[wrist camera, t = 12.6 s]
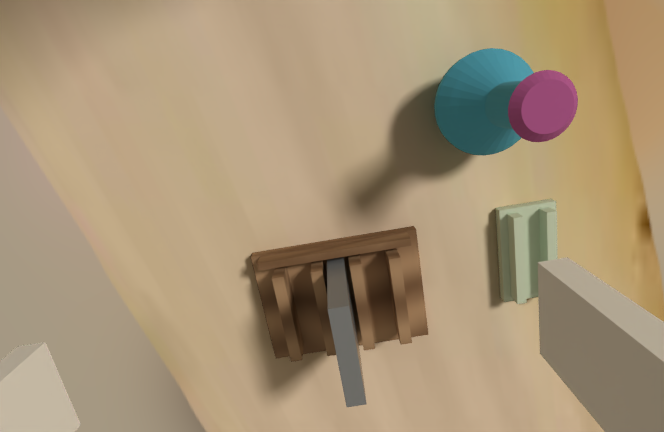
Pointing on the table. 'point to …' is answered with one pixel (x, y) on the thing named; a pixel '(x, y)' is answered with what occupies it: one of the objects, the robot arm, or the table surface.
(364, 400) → the thick grey slab
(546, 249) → the stand
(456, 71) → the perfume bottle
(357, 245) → the rack
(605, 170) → the table surface
